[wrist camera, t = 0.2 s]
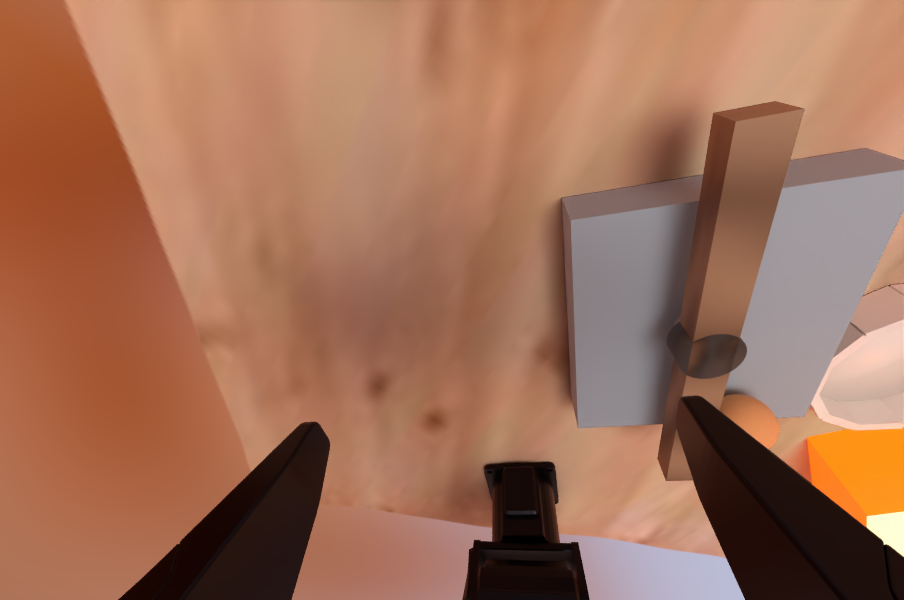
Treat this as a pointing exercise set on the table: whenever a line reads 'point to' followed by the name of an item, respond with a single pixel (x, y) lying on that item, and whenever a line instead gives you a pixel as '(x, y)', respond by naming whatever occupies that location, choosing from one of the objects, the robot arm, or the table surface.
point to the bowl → (867, 367)
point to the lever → (725, 257)
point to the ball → (752, 417)
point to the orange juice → (864, 477)
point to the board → (773, 299)
